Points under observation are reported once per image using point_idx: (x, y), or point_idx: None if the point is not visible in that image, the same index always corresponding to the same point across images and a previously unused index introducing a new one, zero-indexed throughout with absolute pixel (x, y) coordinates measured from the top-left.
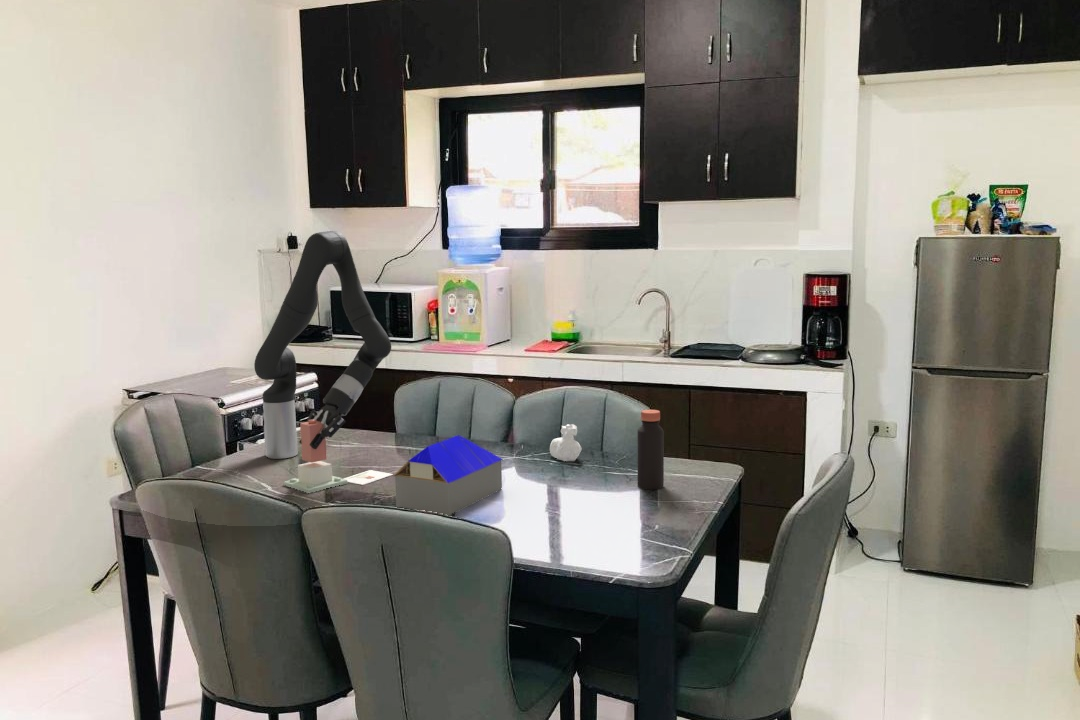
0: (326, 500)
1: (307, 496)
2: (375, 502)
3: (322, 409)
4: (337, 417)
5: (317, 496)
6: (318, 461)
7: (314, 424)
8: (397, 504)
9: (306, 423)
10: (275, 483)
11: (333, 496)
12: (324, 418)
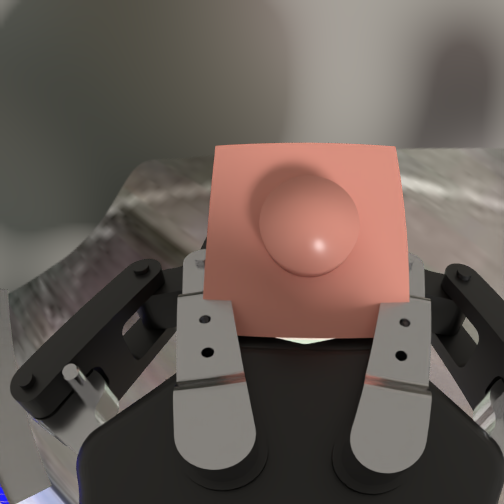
0: (134, 215)
1: (206, 199)
2: (43, 285)
3: (453, 494)
4: (22, 371)
5: (182, 219)
6: None
7: (222, 206)
8: (2, 289)
9: (341, 179)
10: (413, 212)
11: (145, 249)
12: (211, 356)
